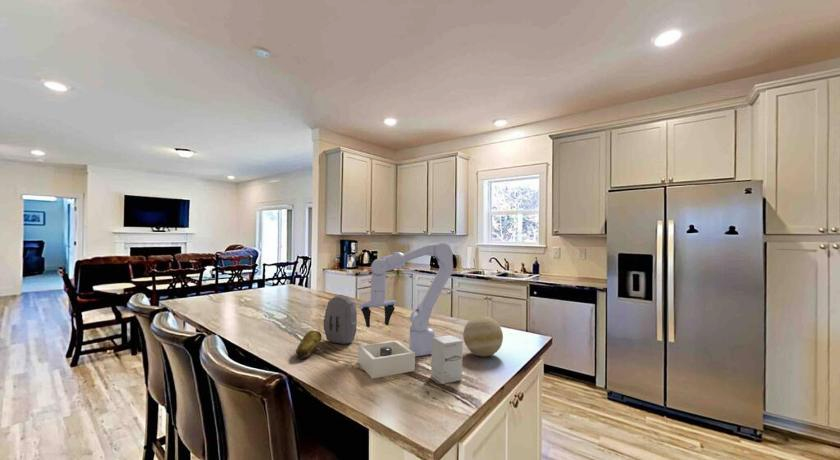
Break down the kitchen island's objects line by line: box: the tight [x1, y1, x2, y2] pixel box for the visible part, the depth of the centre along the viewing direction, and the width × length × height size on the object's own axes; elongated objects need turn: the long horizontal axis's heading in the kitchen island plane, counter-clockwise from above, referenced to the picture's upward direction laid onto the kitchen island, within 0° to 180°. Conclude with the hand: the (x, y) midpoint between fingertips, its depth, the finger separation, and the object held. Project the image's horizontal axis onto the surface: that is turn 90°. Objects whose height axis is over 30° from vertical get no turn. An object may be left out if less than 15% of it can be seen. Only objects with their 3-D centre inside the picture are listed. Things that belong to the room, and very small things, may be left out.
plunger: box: [375, 347, 394, 358], centre depth 117 cm, size 11×11×5 cm
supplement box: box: [430, 334, 464, 385], centre depth 109 cm, size 7×7×13 cm
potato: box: [295, 330, 322, 360], centre depth 127 cm, size 8×13×8 cm, turn 154°
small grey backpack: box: [323, 294, 358, 345], centre depth 142 cm, size 15×8×20 cm, turn 66°
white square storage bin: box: [357, 340, 416, 379], centre depth 117 cm, size 15×15×6 cm
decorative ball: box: [462, 315, 504, 358], centre depth 130 cm, size 15×15×15 cm
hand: (377, 325), depth 130 cm, fingers open, 7 cm apart
